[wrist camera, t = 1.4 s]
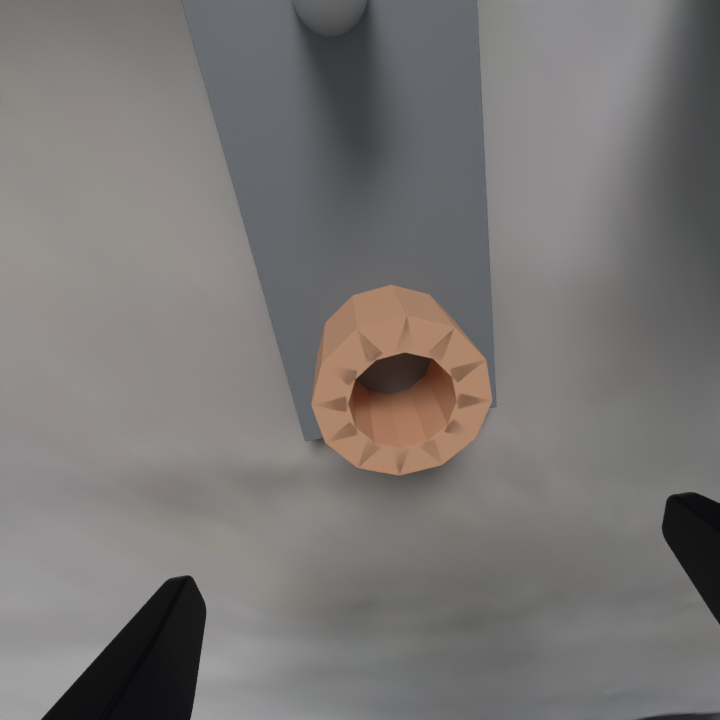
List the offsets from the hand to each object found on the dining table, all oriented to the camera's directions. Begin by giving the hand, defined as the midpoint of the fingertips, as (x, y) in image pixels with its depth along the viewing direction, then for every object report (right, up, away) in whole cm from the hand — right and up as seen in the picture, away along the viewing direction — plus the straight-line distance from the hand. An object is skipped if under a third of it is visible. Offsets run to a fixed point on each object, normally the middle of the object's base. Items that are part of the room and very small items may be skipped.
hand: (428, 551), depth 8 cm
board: (-1, +10, +9) cm, 13 cm away
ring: (0, +4, +10) cm, 11 cm away
